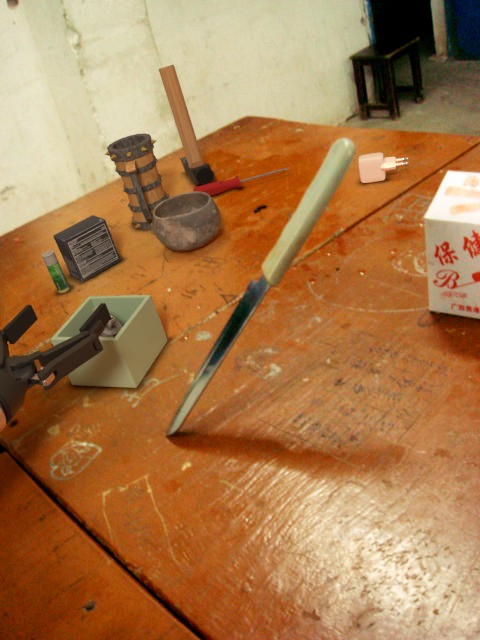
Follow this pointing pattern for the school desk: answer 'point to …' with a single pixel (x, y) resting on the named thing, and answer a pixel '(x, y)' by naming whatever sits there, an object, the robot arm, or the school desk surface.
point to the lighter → (111, 328)
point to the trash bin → (118, 341)
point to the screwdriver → (226, 184)
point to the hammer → (185, 129)
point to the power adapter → (377, 166)
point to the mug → (138, 176)
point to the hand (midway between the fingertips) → (68, 311)
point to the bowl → (186, 221)
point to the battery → (55, 271)
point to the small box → (87, 248)
